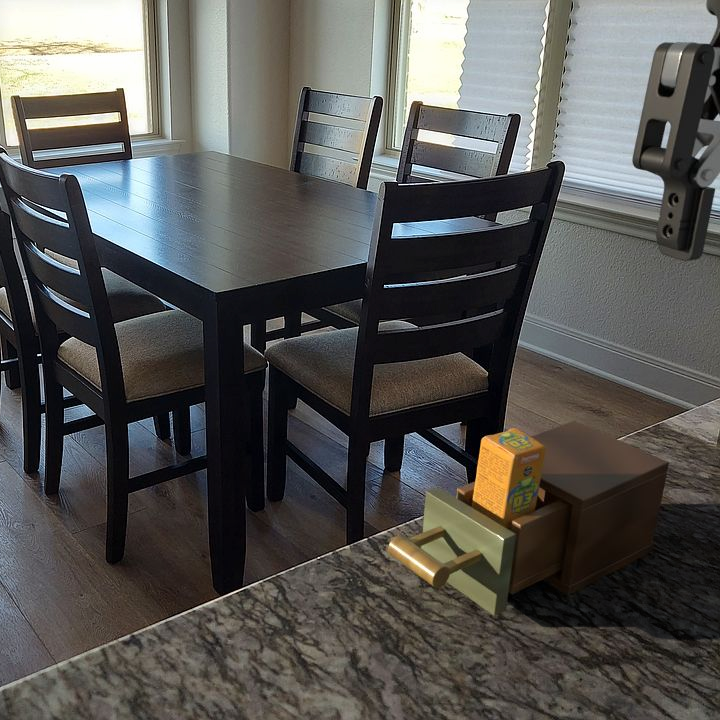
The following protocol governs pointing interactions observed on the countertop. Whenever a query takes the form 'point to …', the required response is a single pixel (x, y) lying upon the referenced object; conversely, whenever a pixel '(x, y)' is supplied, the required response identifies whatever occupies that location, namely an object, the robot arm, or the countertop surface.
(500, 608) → the drawer
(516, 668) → the countertop surface
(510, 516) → the supplement box
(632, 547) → the cabinet
